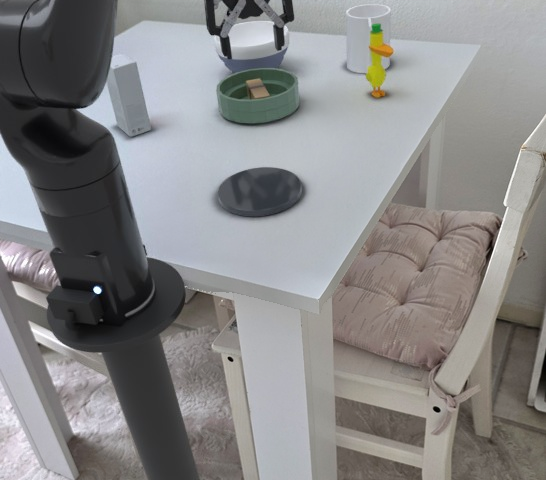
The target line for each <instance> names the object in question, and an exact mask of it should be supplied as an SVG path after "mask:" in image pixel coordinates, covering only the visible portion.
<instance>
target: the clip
mask: <svg viewBox="0 0 546 480" xmlns="http://www.w3.org/2000/svg"><path fill="white" fill-rule="evenodd" d="M246 87H247V95H248V99H249V100H253V99H263V98H267V97H270V95H269V93H268V92H267V90H266V88H265V85H263V83H262V81H261V80H260V78H259V79H253V80H248V81H246Z"/></svg>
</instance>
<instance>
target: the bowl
mask: <svg viewBox="0 0 546 480" xmlns="http://www.w3.org/2000/svg"><path fill="white" fill-rule="evenodd" d="M273 25H274V22H273V21H272V20H271V21H270V20H254V21H245V22H240V23H235V24H234V26H232V28H231V30H230V32H229V33H228V36H229V39H230V46H231V53H232V59H229V60H228V59H227V57H224V55H223V53H222V51H221V44H220V37H219V36H216V35H213V36H214V37H213V45H214V49H215V52H216V55H217V56H218V57H219V59H220V60H221V62H223V63H224V66H225V67H226V68H227V69H228V70H229V71H231V73H232V74H235V73H237V72H240V71H245V70H249V69H257V68H277V69H279V66H280V65H281V64H282V62H283V61H284V59H285V55H286V53H287V51H288V49H289V47H290V46H289V45H290V31H289V28H288V27H287V26H286V24H285V25H284V40H285V44H284V46H282V50H280V51H277V50H276V48H275V42H274V32H273Z"/></svg>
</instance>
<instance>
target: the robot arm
mask: <svg viewBox="0 0 546 480" xmlns="http://www.w3.org/2000/svg"><path fill="white" fill-rule="evenodd" d="M270 1H271V0H203V3H204V15H205V22H206V24H205V25H206V30H207V32H208V34H209V35H210V36H212V37H213V36H215V35H216V36H219V37H220V44H221V51H222V53H223V55H224V57H227V59H228V60H229V59H232V53H231V46H230V39H229V36H228V33H229V32H230V30H231V28H232V26H234V25H235V24H236V22H237V20H238V19H241V20H246V19H249V18H251V17H252V18H259V17H261V15H263V14H265V15H267V17H268V18H269V19H270V20H271V22H274V25H273V32H274V42H275V48H276V50H277V51H280V50H282V46H284V44H285V40H284V25H285V26H286V25H287V24H288V23H292V22H294V20H295V12H294V4H293V0H281V5H282V13H281V14H280V15H278V14H279V13H277V12H276V11H275V10H274V9H273V8H272V7H271V5H270V4H269V3H270ZM221 2H222V3H223V4H224V5H225V6H226V7H227V8H226V10H225V12H224V14H223V17H222V20H221V22H220V23H219V25H218V24H217V23H216V12H215V10H217V9H218V8H219V4H220V3H221ZM118 4H119V0H0V137H1V139H2V142H3V144H4V146H5V148H6V149H7V151H8V153H9V154H10V156H11V157H12V158H13V159H14V161H15V162H16V163H17V164H18V165H19V166H20V167H21V168H22V170H23V171H24V174H25V176H26V178H27V181H28V183H29V185H30V188H31V191H32V194H33V196H34V199H35V202H36V205H37V208H38V210H39V213H40V215H41V218H42V221H43V223H44V226H45V229H46V231H47V234H48V237H49V240H50V242H51V245H52V249H51V250H50V251H49V258H50V260H51V263H52V266H53V268H54V271H55V274H56V276H57V280H58V282H59V284H60V285H58V284H56V285H55V286H54V287H53V289H52V290H51V291H50V292H49V293H48V294H47V296H46V297H45V299H46V302H47V305H48V304H49V307H50V309H51V312H52V314H53V316H54V319H60V320H65V326H66V328H67V329H68V330H70V331H76V330H78V331H79V330H80V329H81V324H80V323H87V324H94V325H97V324H103V325H110V326H117V327H121V326H123V324H124V323H125V322H126V321H127V320H128V319H131V318H133V317H135V316H137V315H138V314H140V313H141V312H143V311H144V310H145V309H146V308H147V307H148V306H149V305H150V304H151V303H152V301H153V300H154V297H155V294H156V288H155V284H154V280H153V278H152V276H151V273H150V269H149V265H148V261H147V258H148V252H147V249H146V245H145V244H144V243H143V239H142V236H141V233H140V228H139V225H138V222H137V217H136V214H135V210H134V207H133V201H132V199H131V195H130V192H129V187H128V185H127V180H126V175H125V173H124V168H123V165H122V161H121V158H120V154H119V150H118V145H117V142H116V140H115V137H114V135H113V134H112V132H111V131H110V130H109V129H108V128H107V127H105V125H103V124H101V123H99V122H98V121H96V120H94V119H92V118H90V117H89V116H86V115H85V114H83V113H82V112H81V111H79V110H83V109H86V108H88V107H90V106H92V105H93V104H94V103H95V102H96V101H97V100H98V99H99V98H100V96H101V95H102V93H103V91H104V89H105V87H106V85H107V83H106V81H107V78H108V74H109V70H110V66H111V61H112V56H113V53H114V44H115V35H116V27H117V26H116V24H117V16H118V15H117V14H118ZM146 257H147V258H146ZM73 322H80V323H73Z"/></svg>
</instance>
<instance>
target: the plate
mask: <svg viewBox="0 0 546 480" xmlns="http://www.w3.org/2000/svg"><path fill="white" fill-rule="evenodd" d="M302 189H303V188H302V182H301V179H300V178H299V177H298V176H297V175H296V174H295V173H293V172H292V171H290V170H287V169H285V168H279V167H273V166H271V167H270V166H262V167H254V168H248V169H245V170H241V171H238V172H236V173H234V174H232V175H230V176H228V177H227V178H226V179H224V181H222V182H221V184H220V185H219V187H218V189H217V197H218V202H219V204H220V206H221V207H222V208H223V209H224V210H226V211H227V212H228V213H231V214H234V215H237V216H242V217H252V218H253V217H266V216H271V215H275V214H279V213H281V212H283V211H286V210H287V209H289V208H291V207H292V206H293V205H295V204H296V203H297V202H298V201H299V199H300V198H301V196H302V193H303V192H302V191H303V190H302Z"/></svg>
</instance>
